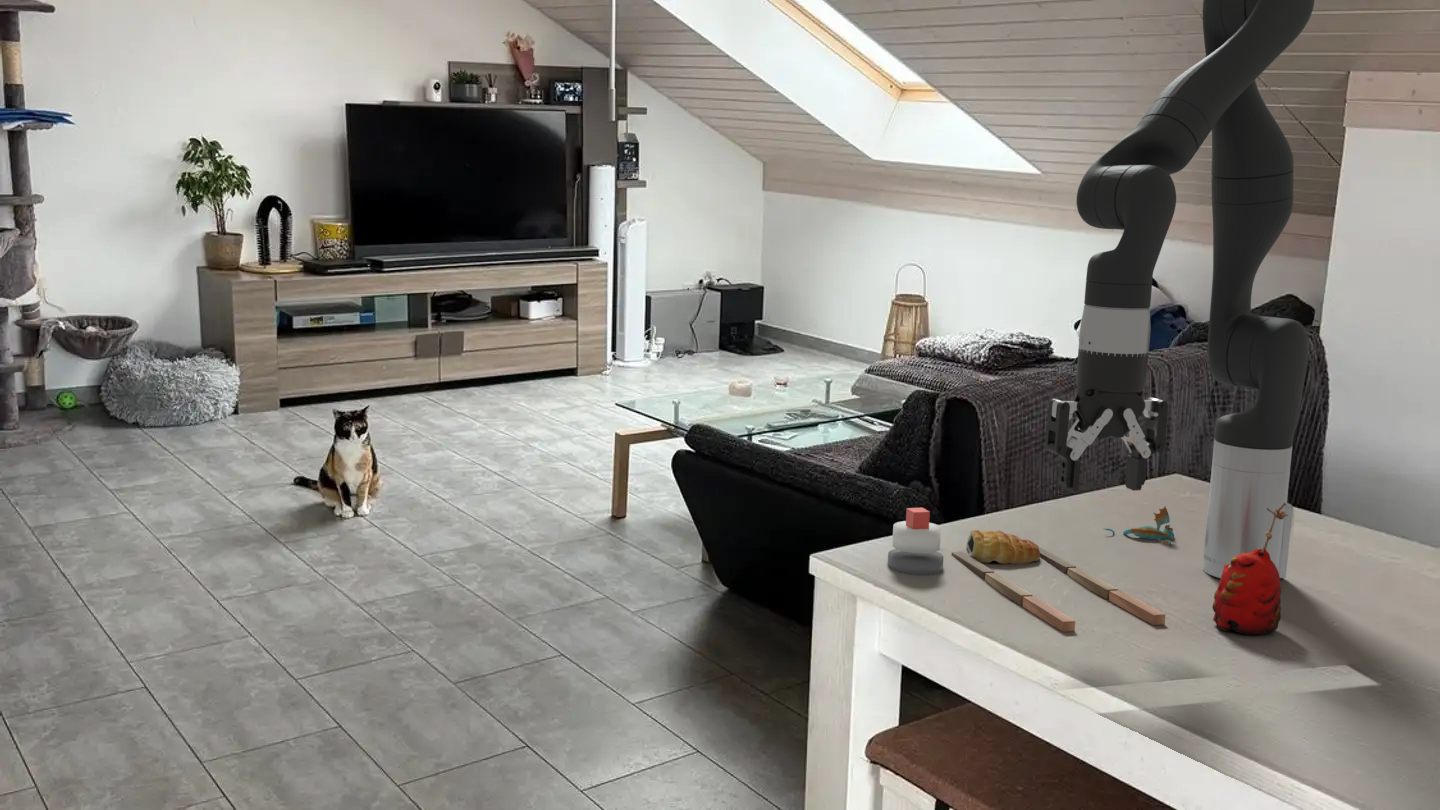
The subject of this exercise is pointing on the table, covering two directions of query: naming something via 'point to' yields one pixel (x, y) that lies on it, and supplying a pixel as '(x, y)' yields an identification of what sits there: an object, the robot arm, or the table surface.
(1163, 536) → the dragon figurine
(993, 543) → the pastry
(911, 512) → the dome button
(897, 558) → the button base
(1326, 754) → the table surface
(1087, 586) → the track
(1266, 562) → the red clay folk toy
